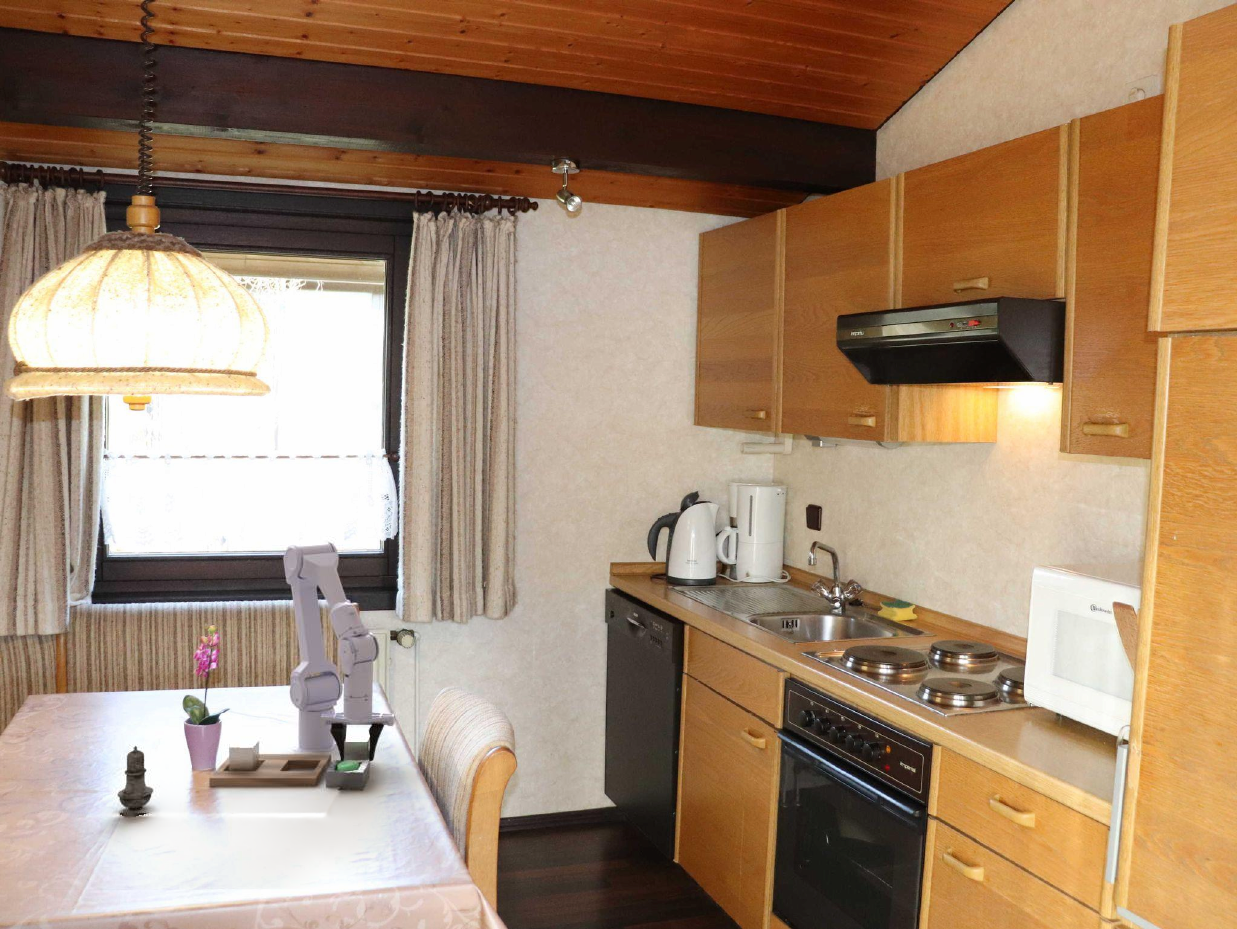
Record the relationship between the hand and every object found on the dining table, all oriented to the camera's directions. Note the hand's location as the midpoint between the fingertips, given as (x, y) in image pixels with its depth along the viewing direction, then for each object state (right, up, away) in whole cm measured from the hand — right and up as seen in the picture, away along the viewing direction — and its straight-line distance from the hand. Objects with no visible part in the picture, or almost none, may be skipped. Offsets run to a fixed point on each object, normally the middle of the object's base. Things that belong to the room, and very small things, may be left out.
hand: (357, 759), depth 216 cm
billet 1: (-21, -1, -7) cm, 22 cm away
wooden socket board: (-15, -1, -7) cm, 17 cm away
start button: (+1, -1, -10) cm, 10 cm away
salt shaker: (-33, -2, -26) cm, 42 cm away
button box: (+1, -2, -10) cm, 10 cm away
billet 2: (0, -2, 0) cm, 2 cm away
